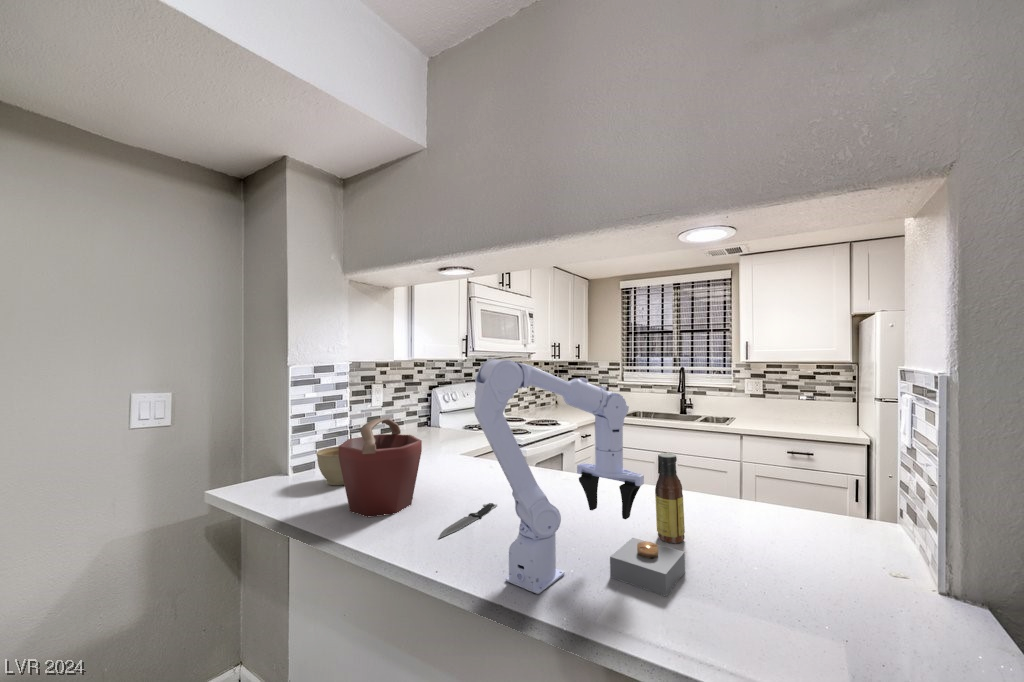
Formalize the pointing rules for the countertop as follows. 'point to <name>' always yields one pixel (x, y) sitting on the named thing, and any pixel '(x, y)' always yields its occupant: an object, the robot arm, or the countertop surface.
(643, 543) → the plunger
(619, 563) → the block
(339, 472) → the planter bowl
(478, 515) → the knife
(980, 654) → the countertop surface
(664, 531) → the sauce bottle
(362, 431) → the bucket
